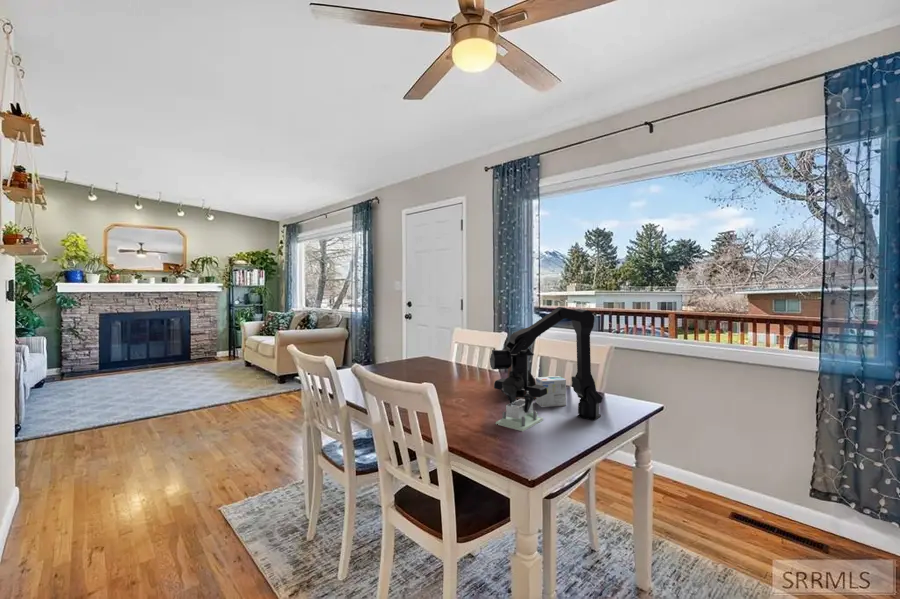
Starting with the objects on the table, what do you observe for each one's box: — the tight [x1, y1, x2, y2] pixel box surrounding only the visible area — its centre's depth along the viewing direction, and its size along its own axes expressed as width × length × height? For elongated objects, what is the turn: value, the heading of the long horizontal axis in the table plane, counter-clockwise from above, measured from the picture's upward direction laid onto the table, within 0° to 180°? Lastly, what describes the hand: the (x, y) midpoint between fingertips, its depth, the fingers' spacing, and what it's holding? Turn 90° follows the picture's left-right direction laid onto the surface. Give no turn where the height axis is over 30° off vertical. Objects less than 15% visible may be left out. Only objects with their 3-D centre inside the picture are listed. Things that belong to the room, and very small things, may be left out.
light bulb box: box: [535, 375, 567, 408], centre depth 170 cm, size 11×7×11 cm, turn 100°
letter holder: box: [507, 365, 536, 400], centre depth 186 cm, size 10×20×14 cm, turn 179°
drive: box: [505, 399, 534, 419], centre depth 150 cm, size 5×10×4 cm, turn 140°
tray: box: [495, 410, 544, 432], centre depth 150 cm, size 11×14×4 cm
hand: (519, 411), depth 150 cm, fingers closed on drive, 5 cm apart
